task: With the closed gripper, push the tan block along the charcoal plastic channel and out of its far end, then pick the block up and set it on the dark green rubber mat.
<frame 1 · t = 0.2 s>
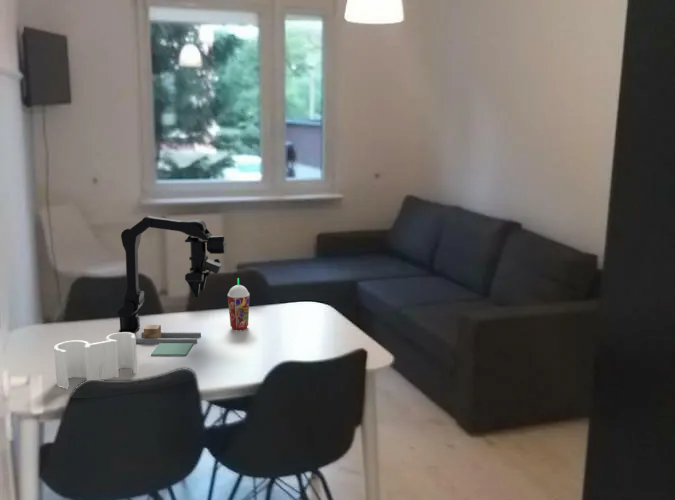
hand: (199, 293, 282), 14 cm above the table, fingers open, 9 cm apart
bracket: (97, 377, 237), on the table
channel: (169, 339, 274), on the table
smoothie: (239, 329, 287), on the table
mat: (172, 350, 262), on the table
tan block: (152, 339, 274), on the table
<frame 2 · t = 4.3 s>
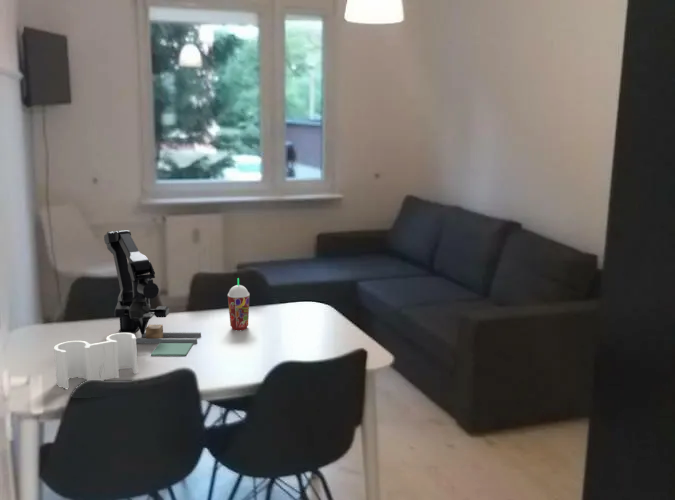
hand: (142, 334, 273), 2 cm above the table, fingers closed
tan block: (154, 339, 274), on the table, touching gripper
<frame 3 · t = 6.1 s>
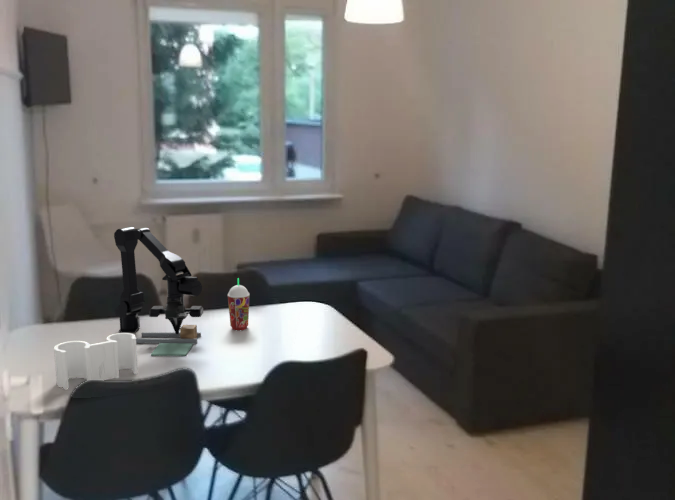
hand: (177, 334, 273), 2 cm above the table, fingers closed
tan block: (188, 339, 274), on the table, touching gripper
everything else where it was.
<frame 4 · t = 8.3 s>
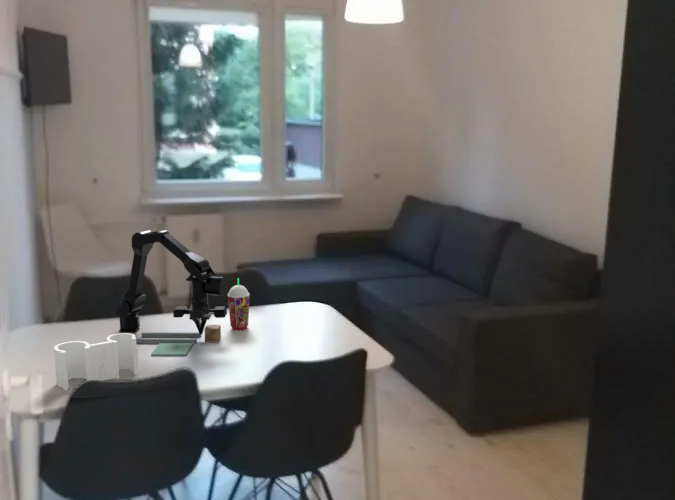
hand: (201, 334, 273), 2 cm above the table, fingers closed
tan block: (212, 339, 274), on the table, touching gripper
everything else where it was.
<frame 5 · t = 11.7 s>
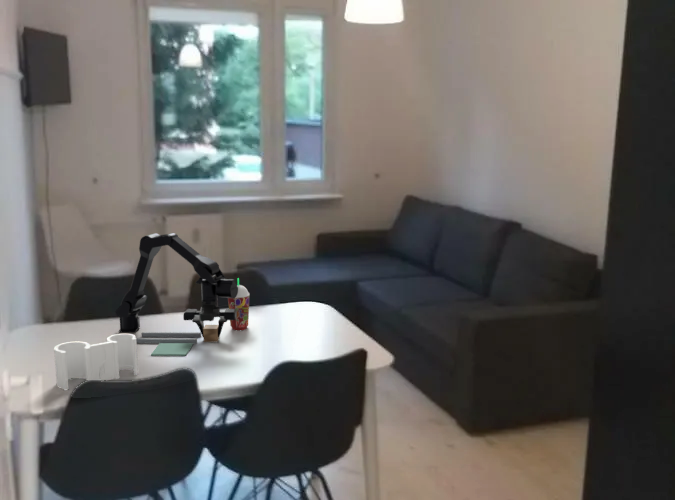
hand: (211, 337, 274), 1 cm above the table, fingers closed on tan block, 5 cm apart
tan block: (211, 339, 274), on the table, touching gripper
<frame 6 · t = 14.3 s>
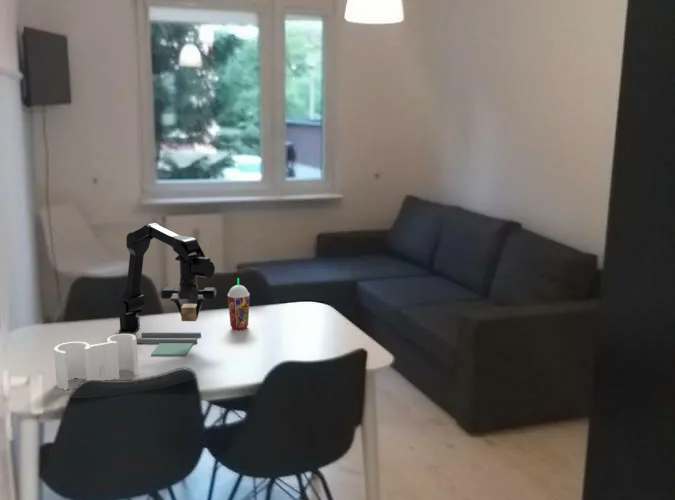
hand: (189, 316, 266), 11 cm above the table, fingers closed on tan block, 5 cm apart
tan block: (189, 319, 266), point 10 cm above the table, touching gripper
when the fingers open (4 cm above the table, at t = 16.6 s): tan block drops 2 cm, resting on mat.
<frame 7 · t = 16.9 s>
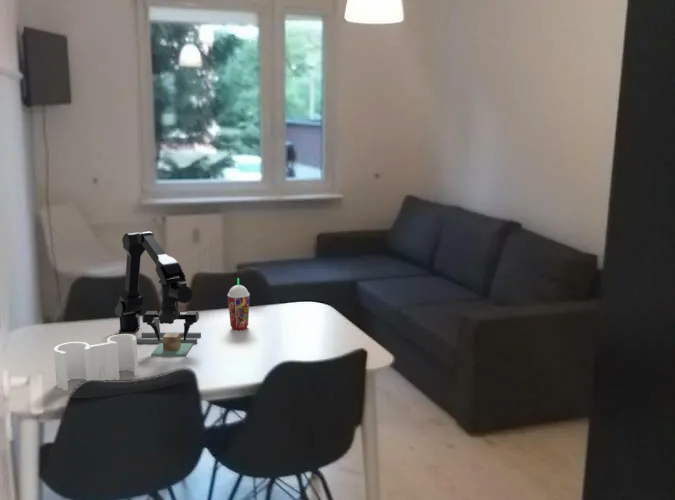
hand: (172, 340, 261), 4 cm above the table, fingers open, 9 cm apart
tan block: (172, 348, 262), point 1 cm above the table, touching mat
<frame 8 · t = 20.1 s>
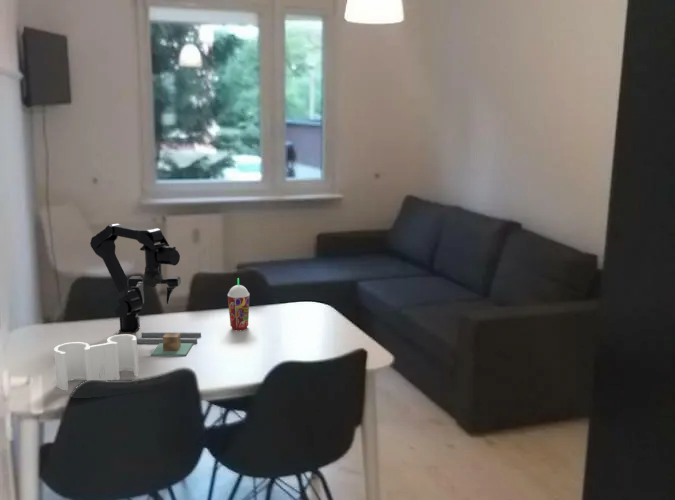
hand: (155, 303, 277), 12 cm above the table, fingers open, 9 cm apart
at the end: tan block inside the target area on the mat (0.1 cm from its centre), point 0.6 cm above the mat's base; tan block tilted 0°; the gripper is holding nothing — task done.
